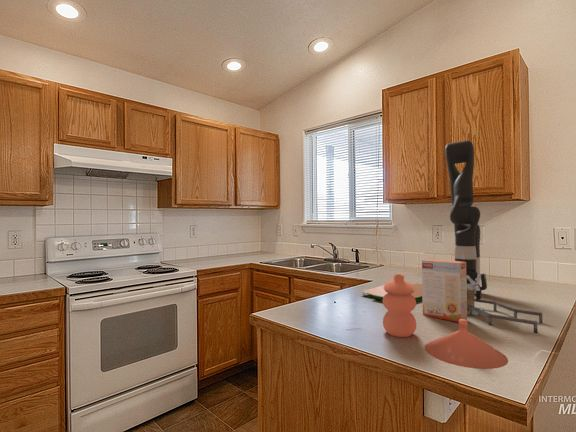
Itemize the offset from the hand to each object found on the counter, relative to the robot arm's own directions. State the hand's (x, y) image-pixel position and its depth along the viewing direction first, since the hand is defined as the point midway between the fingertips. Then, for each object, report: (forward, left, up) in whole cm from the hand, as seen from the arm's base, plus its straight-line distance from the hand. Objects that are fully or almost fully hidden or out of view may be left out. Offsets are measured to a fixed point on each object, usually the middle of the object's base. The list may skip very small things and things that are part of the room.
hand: (466, 298), depth 136 cm
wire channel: (+9, -4, -5) cm, 11 cm away
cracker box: (-3, -16, -5) cm, 17 cm away
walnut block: (0, 0, -4) cm, 4 cm away
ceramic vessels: (+5, -46, -5) cm, 47 cm away
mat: (0, 0, -5) cm, 5 cm away
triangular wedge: (-29, +4, -5) cm, 30 cm away
